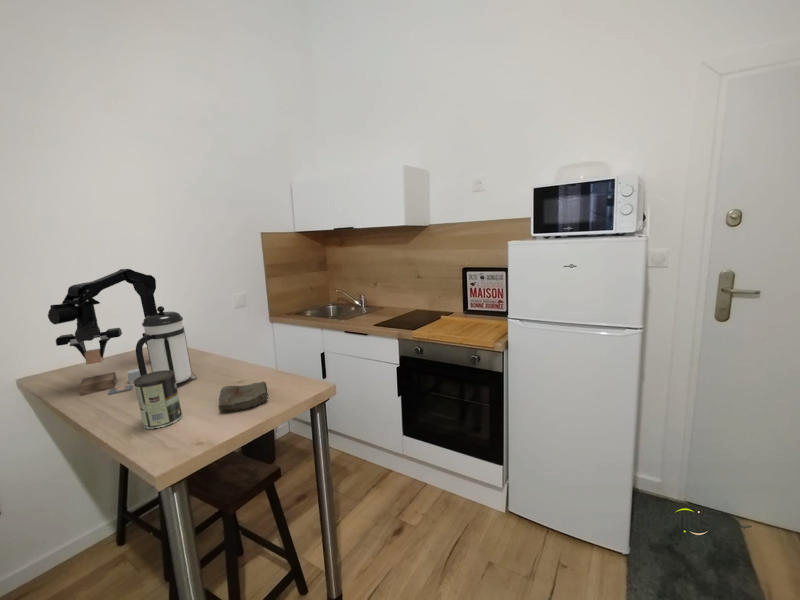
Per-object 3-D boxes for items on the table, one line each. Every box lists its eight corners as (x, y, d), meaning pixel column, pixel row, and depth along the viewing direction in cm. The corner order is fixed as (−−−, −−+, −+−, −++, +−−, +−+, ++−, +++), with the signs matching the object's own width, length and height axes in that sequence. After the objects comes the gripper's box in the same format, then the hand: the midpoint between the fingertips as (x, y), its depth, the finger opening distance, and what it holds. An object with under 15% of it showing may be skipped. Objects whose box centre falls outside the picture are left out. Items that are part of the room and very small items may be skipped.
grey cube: (144, 378, 153) (142, 367, 152) (142, 381, 149) (140, 371, 149) (131, 380, 151) (129, 370, 150) (129, 384, 147) (127, 373, 147)
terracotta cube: (103, 359, 148) (101, 348, 147) (101, 362, 144) (98, 350, 143) (89, 361, 146) (87, 350, 145) (86, 364, 142) (84, 353, 141)
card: (133, 385, 145) (133, 384, 145) (131, 390, 141) (131, 388, 141) (110, 390, 142) (110, 388, 142) (108, 395, 138) (107, 393, 138)
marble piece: (223, 396, 130) (221, 385, 130) (268, 388, 135) (266, 377, 134) (217, 417, 115) (215, 404, 114) (268, 407, 119) (266, 395, 119)
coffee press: (150, 382, 147) (135, 306, 142) (196, 373, 154) (184, 300, 149) (144, 399, 132) (127, 314, 126) (196, 387, 139) (182, 307, 133)
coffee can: (175, 409, 122) (167, 367, 119) (187, 418, 115) (179, 374, 112) (138, 423, 114) (128, 378, 112) (148, 433, 107) (139, 386, 105)
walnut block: (117, 381, 153) (115, 371, 152) (115, 389, 144) (113, 379, 144) (85, 388, 147) (83, 378, 147) (81, 396, 139) (79, 386, 138)
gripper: (46, 326, 131) (55, 369, 133) (112, 317, 139) (120, 358, 142) (56, 320, 141) (65, 361, 143) (118, 313, 149) (125, 351, 151)
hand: (94, 358), depth 145 cm, fingers closed on terracotta cube, 4 cm apart
